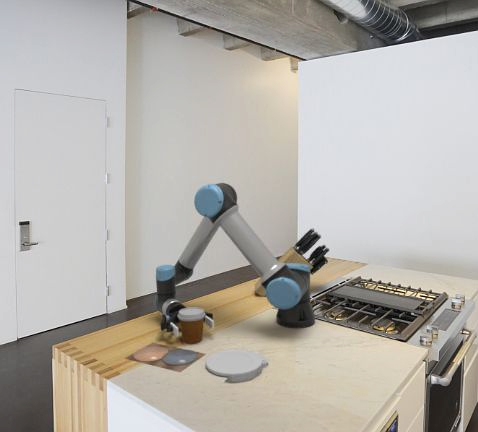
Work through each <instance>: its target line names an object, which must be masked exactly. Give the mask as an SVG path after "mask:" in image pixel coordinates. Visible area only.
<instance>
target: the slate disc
mask: <svg viewBox="0 0 478 432" xmlns="http://www.w3.org/2000/svg"><path fill="white" fill-rule="evenodd" d="M194 351H195V350H191V349H185V348H181V350H174V351H170V352H168V353H167V355H166V354H165V355H166V356H164V357H162V361H163V362H164V363H166V364H168V365H174V366H179V365H186V364H189V363H192V362H194V361H195V360H196V359H197V353H196V352H197V351H195V352H194ZM194 363H195V362H194Z"/></svg>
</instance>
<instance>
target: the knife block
mask: <svg viewBox="0 0 478 432" xmlns="http://www.w3.org/2000/svg"><path fill="white" fill-rule="evenodd" d="M321 238H322V235H321V234H320V233H318V231H315V228H314V227H312V228H310V229H309V230H308V231H307V232H306V233H304V235H303V236H301V238H300V239H299V240H297V242H296V243H295V244H294V246H291V247H290V248H288V250H286V251H285V252H284V254H282V256H280V257H279V259H277V260H278V262H280V263H300V264H307V265H308V266H309V267H310V275H311V276H313V275H314V274H315V273H317V272H318V271H319V270H320V269H321V268H323V267H324V266H325V265H327V264H328V263H329V260H328V259H327V258H326V257H325V255H326V254H328V252H330V248H329V247H327V245H326V244H323V245H319V246H318V247H316V248H315V249H314V250H313V251H312V252H311V253H310V255H309V257H308V258H306V257H305V256H304V255H305V254H306V253H307V252H309V250H310V249H311V248H313V246H315V245H316V244H317V242H318V241H319V240H320V239H321ZM254 291H255V292H256V294H257V295H259V296H261V297H266V290H265V289H264V287H263V286H262V285H261V277H260V278H259V279H258V280H257V281H256V282H255V283H254Z"/></svg>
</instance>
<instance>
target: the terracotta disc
mask: <svg viewBox="0 0 478 432" xmlns="http://www.w3.org/2000/svg"><path fill="white" fill-rule="evenodd" d="M133 353H134V359H135V360H137V361H141V362H153V361H158V360H161V359H162V357H164V356H166V355H167V353H168V350H167V349H166V348H163V347H157V346H153V347H146V348H144V347H142V348H140V349H138V350H136V351H135V352H133ZM165 354H166V355H165Z"/></svg>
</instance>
